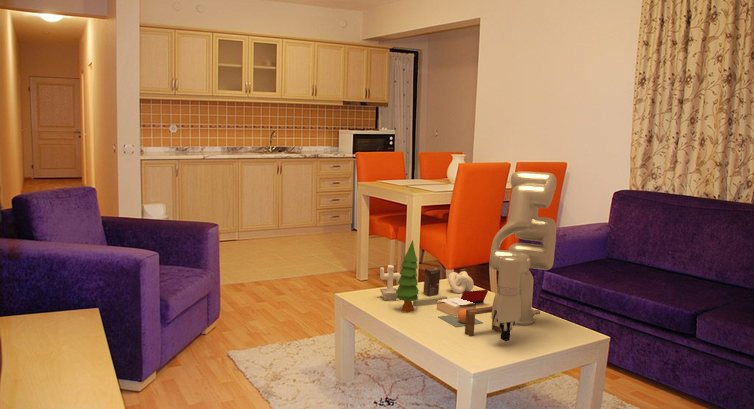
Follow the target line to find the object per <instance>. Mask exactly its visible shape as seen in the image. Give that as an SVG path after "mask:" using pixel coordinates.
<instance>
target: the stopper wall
mask: <svg viewBox="0 0 754 409" xmlns="http://www.w3.org/2000/svg"><path fill="white" fill-rule="evenodd" d="M442 299H447V300H448V297H447V296H446V295H441V296H439V295H438V296H434V297H432V296H430V297H425V298H424V297H423V298H418V300H415V301H412V304H413V307H414V308H415V307H423V306H424V307H425V306H430V305H437V304H436V303H437V301H438V300H442Z"/></svg>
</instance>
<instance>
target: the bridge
mask: <svg viewBox="0 0 754 409" xmlns="http://www.w3.org/2000/svg"><path fill="white" fill-rule="evenodd" d="M492 306H493V305H491V306H485V307H477V308H470V309H469V308H468V309H467V310H466V321H465V326H464V334H465V335H467V336H469V337H472V336H473V337H474V336H475V325H476V324H475V319H476V315H483V314H488V313H489V314H490V313H491V314H492ZM491 320H492V319H491ZM491 322H492V323H491V330H492V331H494V332H496V333H498V332H501V329H500V327H498V326H495V325H493V322H494V320H492V321H491Z"/></svg>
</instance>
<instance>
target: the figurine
mask: <svg viewBox="0 0 754 409" xmlns="http://www.w3.org/2000/svg"><path fill="white" fill-rule="evenodd" d="M394 270H395V266H394V265H392V264H388V265H387V269H386V272H387V273H385V268H384V267H383V266H382V267H381V266H380V268H379V278H380V280H382V281H383V280H384V281H386V288H379V291H380V293H381V295H382V298H383V299H384V300H385V301H396V300H397V299H398V298H397V295H398V293H396V291H397V289H398V288H395V287H394V280H396V285H397V286H399V285H400V284H398V281H399V279H400V277H401V274H400V272H394Z"/></svg>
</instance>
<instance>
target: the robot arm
mask: <svg viewBox="0 0 754 409" xmlns="http://www.w3.org/2000/svg"><path fill="white" fill-rule="evenodd" d="M555 175H556V174H554V173H550V172H542V171H541V172H540V171H538V172H537V171H528V170H527V171H526V170H524V171H523V170H520V171H515V172H513V173H512V174H511V175H510V186H511V194H510V195H511V196H510V202H509V209H508V217H507V222H506V224H505V225H504V226H502V228H500V229H499V230H498V231H497V233H496V234H495V236H494V237H493V240H492V243H491V249H490V255H489V265H490V268H492V269H493V270H495V271H498V279H497V291H496V292H497V293H495V295H494V296H493V302H492V305H491V306H492V312H491V316H490V318H491V320H494V322H493V325H495V326H498V327H500V329H501V331H500V339H501V341H504V342H511V331H512V330H513V327H514V326H515V325H517V326H529V325H530V326H531V325H534V323H535V320H536V319H535V318H534V316H535V315H540V314H541V310H540V309H533V294H534V293H533V292H534V276H533V275H532V273H531V271H530V269H535V270H546V271H548V270H550V269H552V267H553V266H554V260H555V250H556V239H557V238H556V237H557V225H556V222H555V220H554V219H553V218H551V217H542V216H539V209H548V208H549V207H550V205H551V204H552V201H553V199H554V195H555V192H556V188H557V177H556V176H555ZM512 235H515V238H517V239H520V240H525V241H533V242H541V243H542V244H534V243H529V242H528V243H525V242H516V243H513V244H511V245H510V246H509V247H508V250H504V249H500V248H501V246H502V245H501V244H502V243H503V242H504V240H505V239H506V238H508V237H510V236H512Z"/></svg>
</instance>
